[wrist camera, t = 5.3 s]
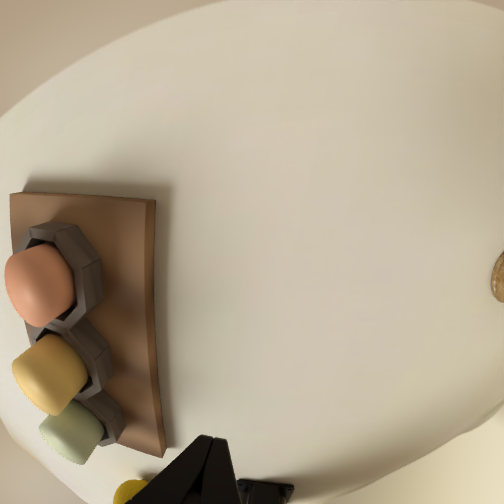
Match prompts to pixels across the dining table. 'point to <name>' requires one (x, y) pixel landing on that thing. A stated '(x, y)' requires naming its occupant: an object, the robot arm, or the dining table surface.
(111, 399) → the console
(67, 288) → the button terracotta
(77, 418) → the button sage
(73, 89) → the dining table surface
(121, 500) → the lemon
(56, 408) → the button ochre
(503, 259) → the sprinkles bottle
